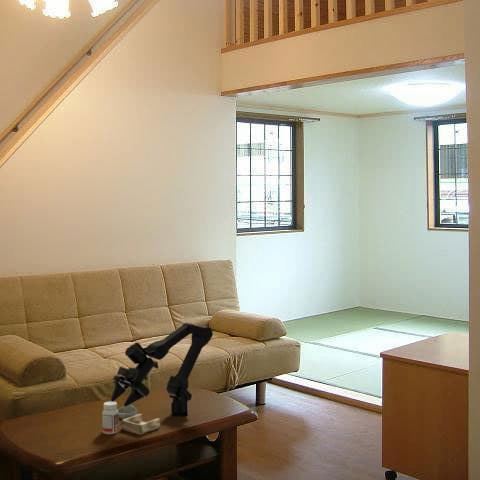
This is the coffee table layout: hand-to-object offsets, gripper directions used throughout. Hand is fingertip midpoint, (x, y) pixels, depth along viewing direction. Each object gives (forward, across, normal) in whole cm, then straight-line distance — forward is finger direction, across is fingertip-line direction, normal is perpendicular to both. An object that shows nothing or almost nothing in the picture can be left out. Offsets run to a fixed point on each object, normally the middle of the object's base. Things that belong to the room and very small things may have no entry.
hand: (118, 403), depth 263 cm
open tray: (+2, +4, +13) cm, 14 cm away
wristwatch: (0, -12, +16) cm, 19 cm away
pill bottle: (+10, 0, +5) cm, 11 cm away
